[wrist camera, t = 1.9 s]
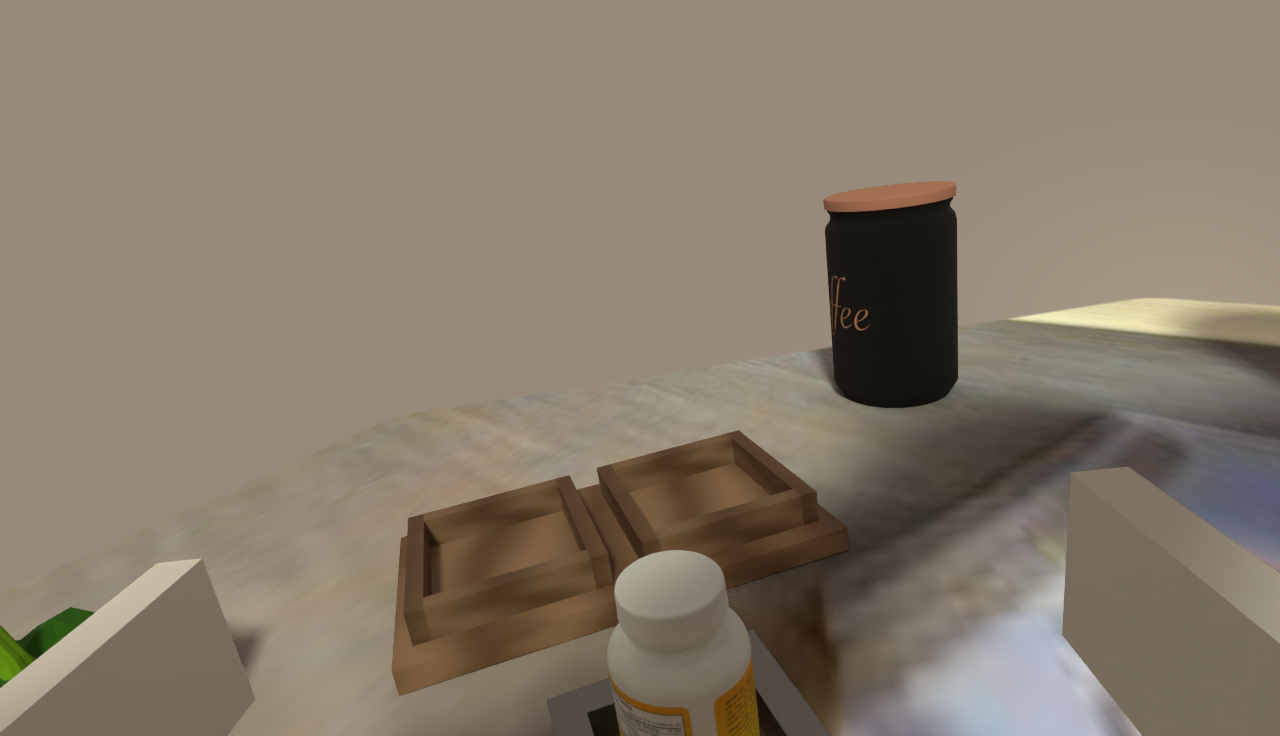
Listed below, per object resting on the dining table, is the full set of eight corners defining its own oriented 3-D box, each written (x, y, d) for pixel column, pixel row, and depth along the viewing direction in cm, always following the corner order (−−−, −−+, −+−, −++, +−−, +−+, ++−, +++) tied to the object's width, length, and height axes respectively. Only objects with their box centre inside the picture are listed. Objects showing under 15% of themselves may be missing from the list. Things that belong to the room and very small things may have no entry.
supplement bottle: (649, 871, 24) (605, 649, 22) (621, 752, 29) (582, 559, 27) (790, 824, 25) (766, 605, 22) (739, 716, 30) (714, 526, 27)
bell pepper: (227, 742, 33) (154, 566, 30) (38, 916, 26) (-82, 708, 23) (117, 713, 37) (41, 551, 34) (-79, 862, 29) (-198, 672, 26)
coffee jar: (832, 373, 70) (820, 193, 64) (945, 366, 67) (942, 177, 62) (838, 414, 60) (825, 205, 55) (971, 407, 57) (970, 187, 52)
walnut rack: (746, 461, 54) (742, 420, 53) (848, 549, 41) (845, 497, 40) (406, 556, 48) (393, 512, 47) (399, 695, 35) (381, 638, 34)
